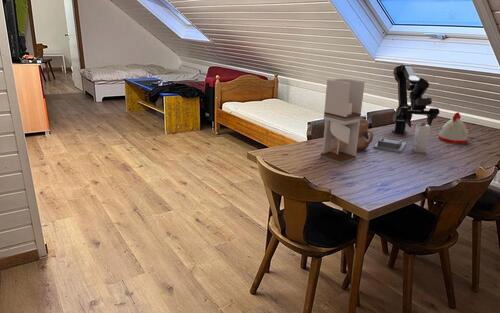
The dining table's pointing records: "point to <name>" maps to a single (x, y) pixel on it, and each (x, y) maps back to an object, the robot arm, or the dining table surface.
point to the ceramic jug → (362, 141)
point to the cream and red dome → (454, 131)
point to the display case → (342, 119)
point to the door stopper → (367, 132)
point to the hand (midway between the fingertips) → (420, 127)
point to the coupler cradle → (390, 145)
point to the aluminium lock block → (421, 137)
